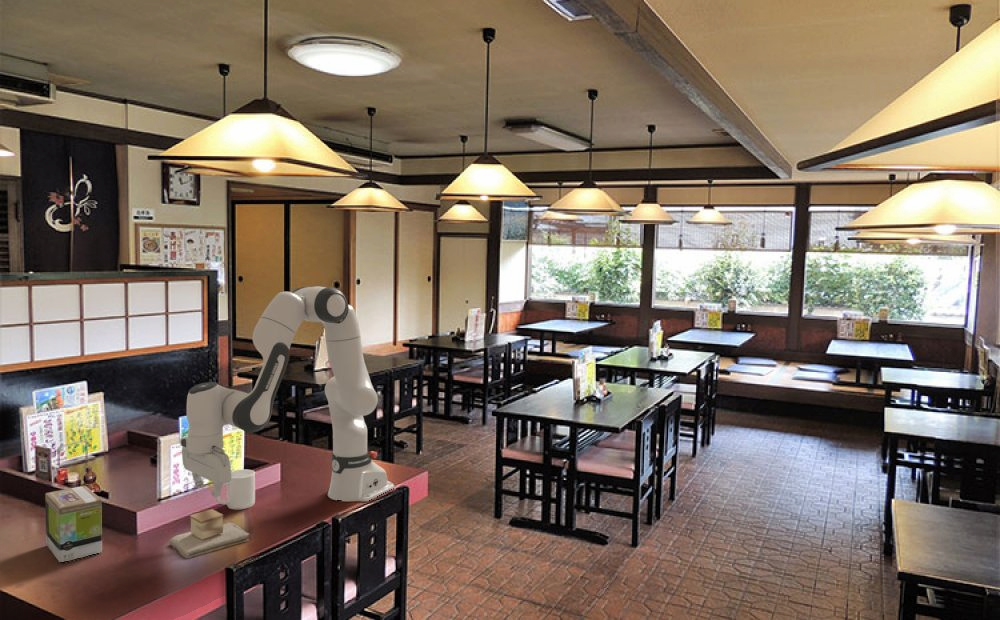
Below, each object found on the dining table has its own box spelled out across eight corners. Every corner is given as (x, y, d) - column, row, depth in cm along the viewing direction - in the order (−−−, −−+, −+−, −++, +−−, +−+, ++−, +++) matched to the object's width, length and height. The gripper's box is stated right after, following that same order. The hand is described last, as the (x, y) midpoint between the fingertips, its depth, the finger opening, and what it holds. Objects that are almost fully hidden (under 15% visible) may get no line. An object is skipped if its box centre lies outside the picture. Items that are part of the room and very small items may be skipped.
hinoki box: (212, 526, 191) (212, 508, 191) (223, 532, 187) (223, 514, 187) (190, 533, 187) (190, 515, 186) (201, 539, 183) (201, 521, 182)
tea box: (104, 553, 179) (102, 498, 177) (59, 565, 172) (57, 508, 170) (87, 535, 189) (86, 483, 188) (45, 545, 182) (43, 492, 181)
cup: (260, 504, 214) (260, 473, 213) (224, 515, 205) (223, 483, 204) (246, 498, 220) (245, 467, 219) (210, 508, 210) (210, 476, 209)
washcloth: (252, 542, 189) (252, 531, 189) (185, 562, 176) (185, 550, 176) (233, 528, 197) (233, 518, 197) (168, 547, 185) (168, 536, 184)
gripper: (236, 447, 181) (238, 497, 182) (198, 433, 194) (200, 480, 195) (213, 453, 176) (215, 504, 178) (176, 438, 189) (179, 486, 191)
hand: (207, 491), depth 187 cm, fingers open, 8 cm apart
